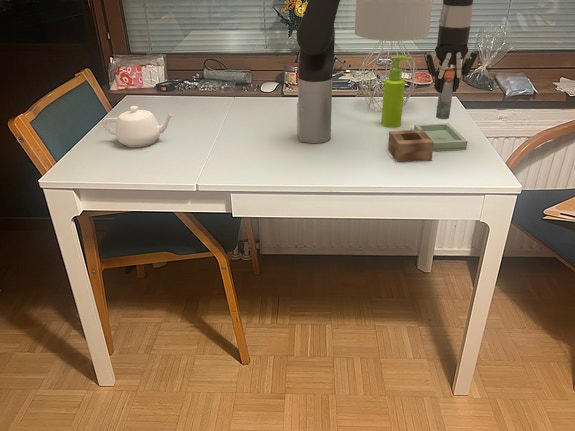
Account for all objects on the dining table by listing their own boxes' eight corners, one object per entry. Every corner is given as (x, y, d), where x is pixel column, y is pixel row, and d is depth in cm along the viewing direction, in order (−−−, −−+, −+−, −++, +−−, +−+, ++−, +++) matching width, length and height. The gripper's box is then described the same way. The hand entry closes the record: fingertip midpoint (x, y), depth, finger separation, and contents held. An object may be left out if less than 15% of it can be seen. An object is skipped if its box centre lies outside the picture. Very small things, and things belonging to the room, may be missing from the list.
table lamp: (406, 122, 161) (421, -22, 141) (339, 111, 171) (344, -25, 151) (429, 102, 178) (445, -30, 158) (366, 92, 188) (374, -32, 168)
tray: (429, 151, 142) (431, 143, 141) (413, 132, 154) (414, 124, 153) (466, 149, 143) (467, 141, 142) (447, 131, 155) (448, 123, 154)
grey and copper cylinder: (438, 119, 143) (444, 71, 137) (434, 115, 146) (440, 67, 140) (451, 118, 143) (458, 70, 137) (446, 114, 146) (452, 67, 140)
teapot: (180, 133, 156) (176, 99, 151) (172, 149, 146) (167, 113, 141) (112, 133, 157) (106, 100, 151) (99, 150, 146) (92, 114, 141)
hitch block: (397, 162, 136) (399, 144, 134) (387, 148, 144) (389, 131, 142) (431, 160, 137) (433, 142, 135) (420, 146, 145) (422, 129, 142)
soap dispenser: (404, 127, 157) (411, 59, 148) (380, 126, 159) (386, 58, 149) (404, 121, 162) (411, 54, 152) (381, 119, 164) (386, 53, 154)
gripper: (432, 27, 129) (424, 96, 138) (488, 25, 130) (477, 94, 139) (422, 21, 135) (415, 88, 144) (476, 19, 137) (466, 86, 145)
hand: (446, 91), depth 141 cm, fingers closed on grey and copper cylinder, 3 cm apart
